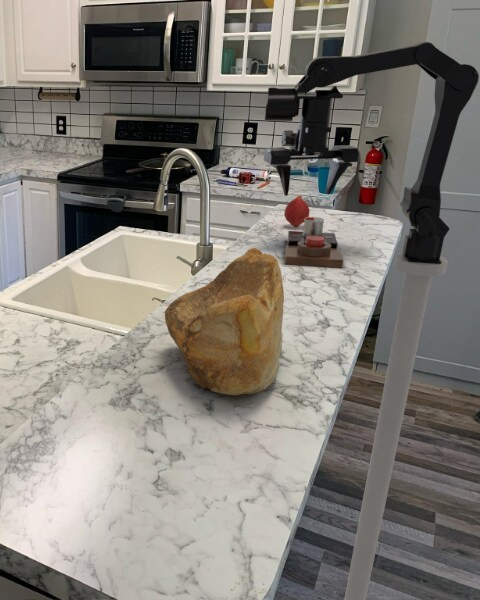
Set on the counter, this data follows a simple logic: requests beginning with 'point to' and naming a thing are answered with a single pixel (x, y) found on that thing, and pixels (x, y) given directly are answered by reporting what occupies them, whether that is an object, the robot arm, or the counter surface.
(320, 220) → the dial
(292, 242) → the dial panel
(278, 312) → the rough brown rock
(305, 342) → the counter surface
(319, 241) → the button
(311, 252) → the button block
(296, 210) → the onion
